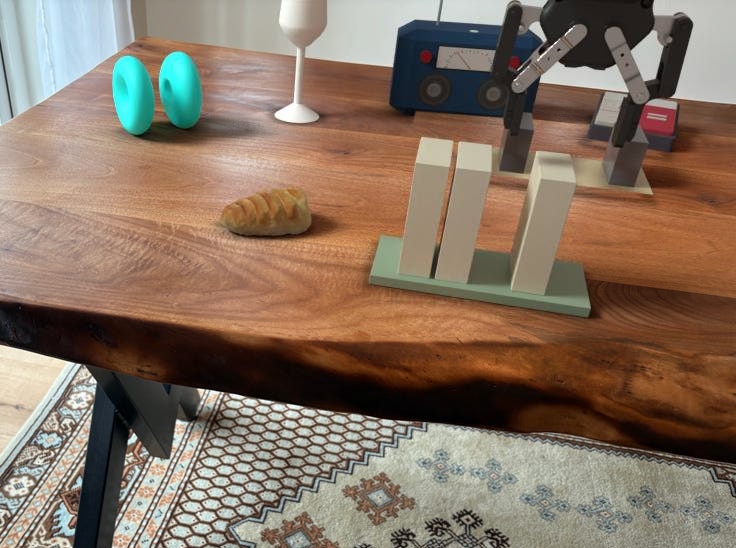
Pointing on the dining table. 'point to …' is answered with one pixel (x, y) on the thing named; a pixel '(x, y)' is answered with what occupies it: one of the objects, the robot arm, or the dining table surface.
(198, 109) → the donuts
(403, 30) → the radio
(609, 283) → the dining table surface
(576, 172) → the grey bookends
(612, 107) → the calculator
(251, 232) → the pastry
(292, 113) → the champagne flute
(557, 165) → the cream book
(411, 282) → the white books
